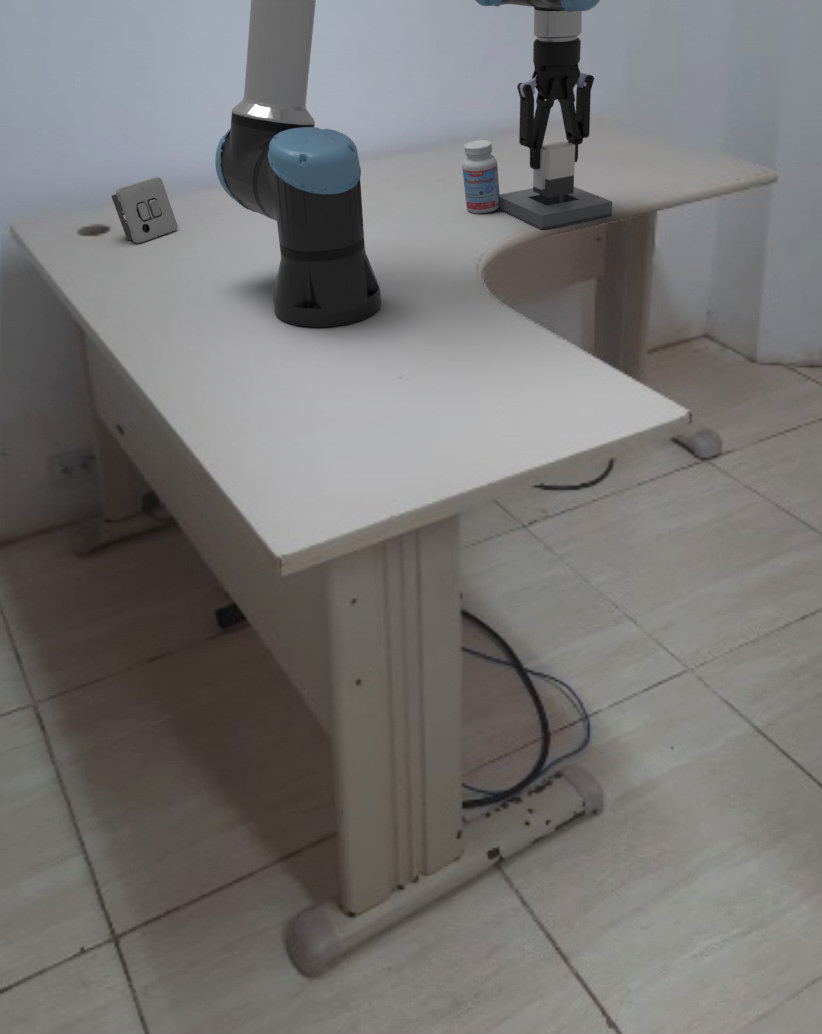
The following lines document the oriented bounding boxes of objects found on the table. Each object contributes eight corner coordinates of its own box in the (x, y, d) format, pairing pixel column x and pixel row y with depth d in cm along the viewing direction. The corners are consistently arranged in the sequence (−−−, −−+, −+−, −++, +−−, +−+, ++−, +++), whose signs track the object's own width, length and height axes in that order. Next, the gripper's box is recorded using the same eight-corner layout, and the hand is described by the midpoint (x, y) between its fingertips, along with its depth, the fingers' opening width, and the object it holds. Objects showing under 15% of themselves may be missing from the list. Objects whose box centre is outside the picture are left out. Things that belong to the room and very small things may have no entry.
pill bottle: (464, 215, 186) (457, 151, 179) (469, 203, 190) (462, 140, 184) (499, 213, 184) (493, 148, 178) (502, 201, 189) (496, 137, 183)
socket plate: (611, 215, 181) (612, 201, 179) (542, 230, 176) (542, 215, 174) (562, 195, 192) (563, 182, 191) (496, 208, 187) (496, 195, 186)
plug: (573, 193, 181) (575, 144, 177) (548, 197, 179) (549, 149, 175) (557, 186, 185) (558, 139, 181) (532, 191, 183) (533, 143, 179)
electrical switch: (137, 245, 179) (123, 189, 175) (118, 243, 182) (105, 188, 178) (179, 231, 185) (167, 176, 181) (161, 229, 188) (148, 176, 184)
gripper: (590, 29, 175) (584, 172, 188) (496, 41, 169) (496, 188, 181) (617, 33, 170) (609, 181, 182) (521, 46, 163) (519, 198, 175)
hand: (553, 184), depth 182 cm, fingers closed on plug, 5 cm apart
